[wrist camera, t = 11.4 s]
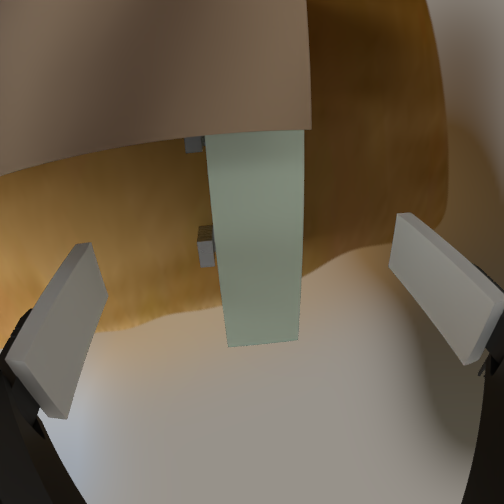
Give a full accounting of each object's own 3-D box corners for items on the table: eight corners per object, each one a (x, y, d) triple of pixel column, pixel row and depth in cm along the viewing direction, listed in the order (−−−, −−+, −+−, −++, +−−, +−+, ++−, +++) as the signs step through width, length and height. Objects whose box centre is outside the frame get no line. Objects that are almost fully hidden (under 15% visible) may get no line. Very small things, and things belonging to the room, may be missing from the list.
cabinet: (-12, 157, 18) (-133, 232, 6) (-23, 58, 14) (-151, 80, 2) (254, 104, 19) (311, 129, 7) (247, -17, 15) (287, -139, 3)
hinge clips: (202, 250, 24) (200, 267, 22) (186, 117, 19) (182, 121, 17) (292, 242, 25) (300, 258, 23) (291, 110, 20) (300, 113, 18)
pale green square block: (224, 250, 24) (228, 347, 15) (212, 115, 19) (204, 135, 10) (282, 245, 24) (316, 337, 16) (280, 111, 19) (329, 130, 11)
